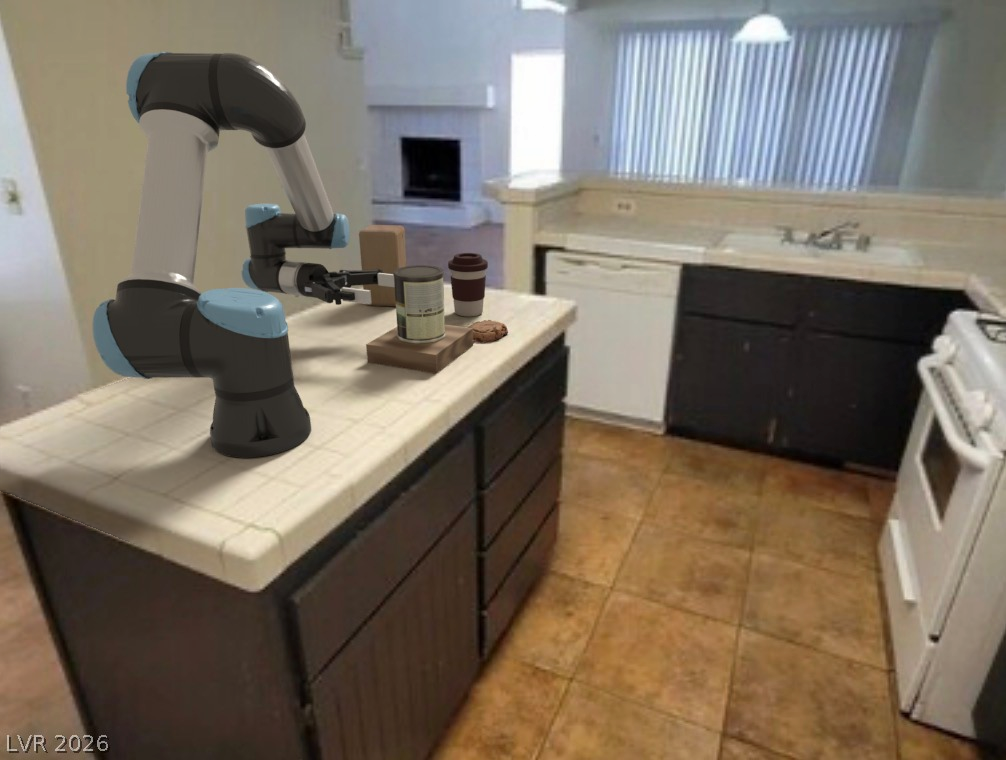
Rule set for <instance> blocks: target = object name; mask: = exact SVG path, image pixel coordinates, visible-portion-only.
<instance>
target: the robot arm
mask: <svg viewBox="0 0 1006 760" xmlns="http://www.w3.org/2000/svg"><path fill="white" fill-rule="evenodd" d="M125 84H126V85H125V91H126V94H127V95H128V100H127V103H128V107H129V111H130V112H131V114H132V117H133V119H134V120H135V121H136V122H137V124H139V125H138V126H139V127H140V128H139V129H140V131H141V132H142V133H143V134H144V135H145V137H146V138H147V144H146V146H147V147H146V153H145V159H144V160H145V161H144V168H143V169H144V170H143V177H142V184H141V185H142V186H141V192H140V201H139V207H138V208H139V209H138V215H137V217H138V218H137V222H136V230H135V231H136V232H135V240H134V246H133V254H132V263H131V268H130V274H129V275H128V276H126V277H124V278H122V279H120V281H119V280H118V281H119V282H118V283H117V285H116V292H115V293H116V294H115V299H113V298H110V299H108V300H104V301H103V302H101V303H100V304H99V305H98V306H97V308H95V310H94V314H93V317H92V336H93V341H94V344H95V345H94V346H95V349H96V350H97V353H98V354H99V356H100V358H101V360H102V361H103V364H104V365H105V366H106V367H107V368H108V369H109V370H111V371H112V372H113V373H114V374H116V375H118V376H121V377H126V378H140V379H144V380H149V379H153V378H161V379H162V378H163V379H164V378H165V379H166V378H198V379H199V378H210V379H212V384H213V388H214V395H215V399H214V406H213V413H212V422H211V425H210V426H209V427H210V428H209V435H210V440H211V446H212V447H213V449H214V450H215V451H216V452H218V453H220V454H222V455H224V456H228V457H232V458H242V459H243V458H244V459H247V458H249V459H250V458H262V457H267V456H272V455H273V456H274V455H276V454H279V453H283V452H285V451H288V450H291V449H293V448H294V447H296V446H298V445H300V444H302V443H303V442H304V441H305V440H306V439H308V437H309V436H310V435H311V432H312V424H311V416H310V414H309V412H308V410H307V408H306V407H305V406H304V403H303V401H302V399H301V396H300V395H299V392H298V390H297V388H296V385H295V382H294V381H295V379H294V371H293V365H292V357H291V348H290V341H289V339H290V338H289V334H288V333H289V325H288V323H287V321H286V316H285V311H284V306H283V304H282V302H281V301H280V299H278V298H277V297H276V296H274V295H273V294H272V293H278V294H285V295H294V297H295V298H299V297H300V296H302V297H307V298H314V299H318V300H320V301H322V302H325V303H327V304H333V303H334V301H335V305H337V306H338V305H342V301H343V302H348V303H357V304H365V305H366V304H371V290H363V288H362V289H361V288H353V286H363V285H369V284H378V285H379V286H388V287H395V285H394V275H393V274H386V273H383V270H381V269H378V270H362V269H358V270H353V269H352V270H351V269H350V270H349V269H340V270H339V271H330V272H329V271H328V269H327V268H326V267H325V265H323V264H321V263H314V262H306V261H298V260H297V261H296V260H287V258H286V257H287V256H286V254H287V253H286V252H287V251H286V249H321V250H322V249H323V250H324V249H326V250H327V249H328V250H332V249H344V248H346V247H347V246H348V245H349V242H350V237H351V235H350V233H351V229H350V221H349V219H348V217H347V216H346V215H345V214H342V213H338V212H335V213H334V211H333V208H332V205H331V203H330V199H329V198H328V197H329V196H328V194H327V192H326V189H325V187H324V183H323V181H322V178H321V176H320V173H319V170H318V168H317V164H316V161H315V159H314V156H313V154H312V151H311V148H310V145H309V143H308V141H307V137H306V131H307V121H306V118H305V116H304V113H303V110H302V108H301V106H300V103H299V101H297V99H296V97H295V96H294V94H293V93H292V92H291V90H290V89H289V88H288V86H287V85H286V84H285V83H284V82H283V81H282V80H281V79H280V78H279V77H278V76H277V75H276V74H275V73H274V72H272V71H271V70H270V69H269V68H267V67H266V66H264V65H263V64H262V63H261V62H259V61H257V60H255V59H253V58H251V57H249V56H246V55H243V54H240V53H234V52H223V53H216V52H215V53H213V52H212V53H211V52H210V53H205V52H202V53H201V52H199V53H197V52H194V53H192V52H191V53H190V52H185V53H184V52H171V51H160V52H155V53H145V54H142V55H139V56H138V57H137V58H135V59H134V61H133V62H132V63H131V65H130V67H129V70H128V73H127V76H126V83H125ZM221 131H246V132H249V133H250V134H251V136H252V138H253V139H254V141H255V142H256V143H257V144H258V145H259V146H262V147H263V148H264V149H265V153H266V154H267V156H268V159H269V160H270V162H271V164H272V166H273V167H272V168H274V171H275V173H276V175H277V177H278V179H279V182H280V184H281V187H282V189H283V190H284V193H285V194H286V196H287V199H288V201H289V203H290V205H291V208H292V210H293V211H294V213H282V211H281V207H280V206H279V205H278V204H277V203H256V204H255V203H254V204H249V205H248V206H246V207H245V209H244V217H245V219H244V220H245V229H246V234H247V240H248V242H247V243H248V247H249V253H250V255H249V257H248V258H247V259H245V261H244V262H243V264H242V270H241V279H242V281H243V282H244V284H245V285H246V286H247V287H248V288H243V287H228V288H213V289H209V290H207V291H204V292H201V291H200V290H199V289H198V288H197V287H196V286H195V284H194V279H195V271H196V270H195V269H196V261H197V260H196V259H197V250H198V241H199V235H200V232H199V231H200V226H201V225H200V224H201V213H202V203H203V197H204V188H205V187H204V185H205V178H206V177H205V176H206V169H207V167H206V165H207V157H208V153H210V152H212V151H213V150H215V149H216V148H217V147H218V145H219V139H220V132H221ZM270 293H271V294H270Z"/></svg>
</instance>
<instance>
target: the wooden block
mask: <svg viewBox="0 0 1006 760" xmlns="http://www.w3.org/2000/svg"><path fill="white" fill-rule="evenodd" d="M358 239H359V240H358V242H359V250H360V251H359V252H360V253H359V254H360V264H361V270H378V269H381V270H383V273H386V274H393V271H394V270H396V269H398V268H401V267H406V266H407V250H406V248H407V247H406V230H405V227H404V226H403V225H399V224H398V225H397V224H395V225H394V224H389V225H388V224H370V225H368V226H366V227H364V228H363V229H361V230H359V232H358ZM362 290H371V304H365V305H366V306H371V307H373V306H375V307H376V306H377V307H396V299H395V287H388V286H379V285H378V284H369V285H362Z"/></svg>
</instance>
